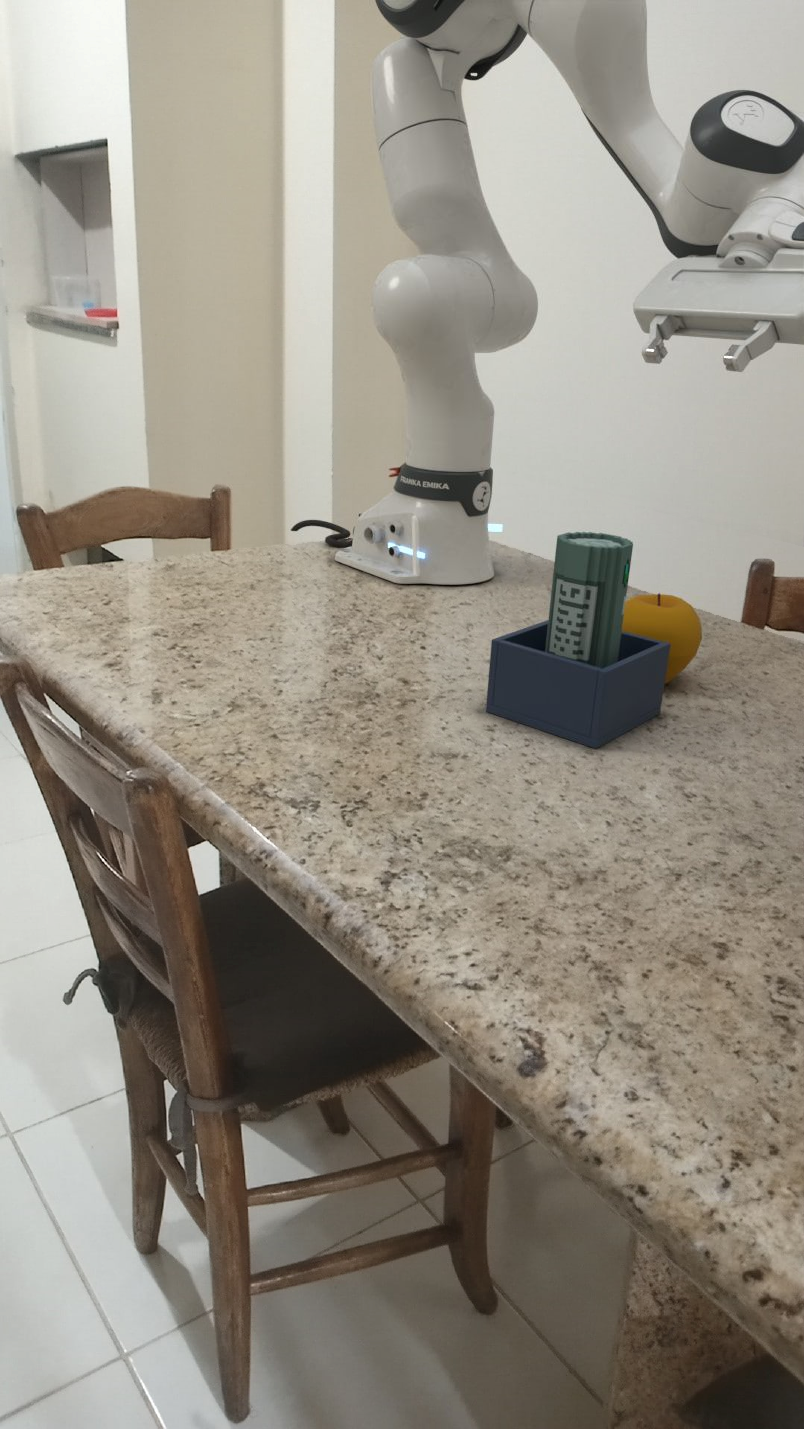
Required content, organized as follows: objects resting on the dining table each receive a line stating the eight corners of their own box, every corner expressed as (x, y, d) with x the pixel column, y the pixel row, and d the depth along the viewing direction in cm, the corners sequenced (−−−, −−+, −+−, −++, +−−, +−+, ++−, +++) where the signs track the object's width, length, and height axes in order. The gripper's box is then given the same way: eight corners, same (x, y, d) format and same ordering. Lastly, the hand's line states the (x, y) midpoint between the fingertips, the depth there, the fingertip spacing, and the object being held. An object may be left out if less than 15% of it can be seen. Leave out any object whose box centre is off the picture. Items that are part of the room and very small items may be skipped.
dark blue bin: (485, 711, 92) (491, 639, 89) (554, 681, 100) (561, 615, 97) (596, 749, 85) (606, 672, 83) (660, 714, 93) (671, 643, 91)
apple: (636, 659, 107) (647, 576, 104) (712, 683, 102) (727, 596, 98) (585, 677, 102) (595, 589, 98) (663, 703, 96) (677, 611, 92)
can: (620, 704, 93) (643, 540, 87) (590, 722, 88) (612, 551, 83) (561, 687, 96) (579, 529, 91) (529, 705, 92) (545, 539, 86)
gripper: (667, 231, 105) (593, 331, 103) (855, 228, 90) (773, 344, 88) (687, 281, 109) (616, 377, 107) (869, 285, 95) (792, 397, 93)
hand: (688, 362), depth 98 cm, fingers open, 8 cm apart
